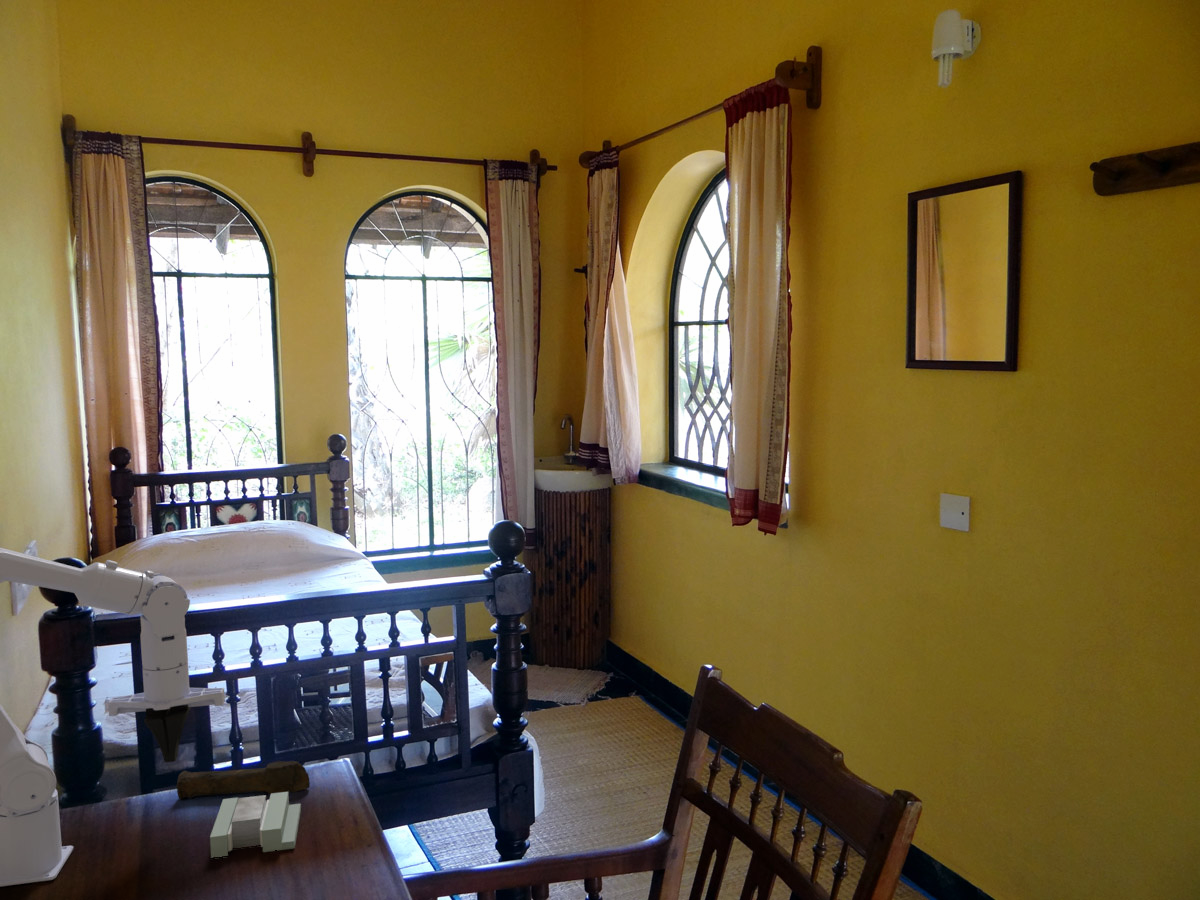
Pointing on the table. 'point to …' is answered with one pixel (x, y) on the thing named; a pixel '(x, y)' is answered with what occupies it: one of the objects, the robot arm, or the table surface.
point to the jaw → (223, 829)
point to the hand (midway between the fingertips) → (171, 759)
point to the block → (248, 821)
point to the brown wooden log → (245, 780)
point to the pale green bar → (279, 823)
